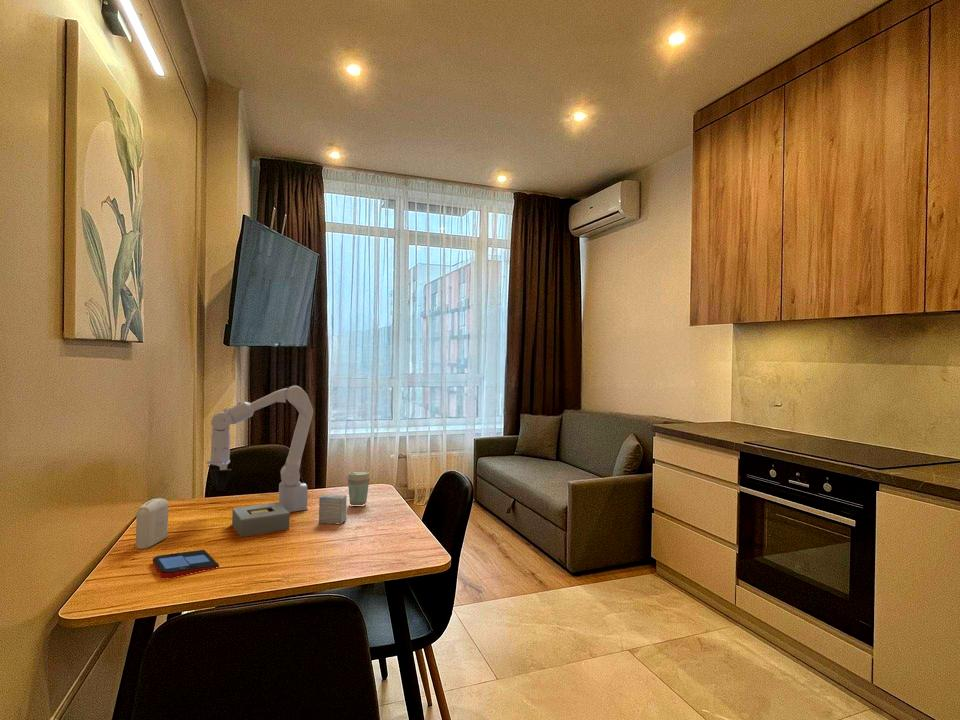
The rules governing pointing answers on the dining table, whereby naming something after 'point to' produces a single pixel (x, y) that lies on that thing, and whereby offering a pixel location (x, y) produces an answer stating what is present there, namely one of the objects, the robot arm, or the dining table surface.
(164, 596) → the dining table surface
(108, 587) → the dining table surface
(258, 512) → the wooden block
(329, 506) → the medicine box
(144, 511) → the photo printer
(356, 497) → the coffee cup
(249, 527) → the money box
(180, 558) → the game console
